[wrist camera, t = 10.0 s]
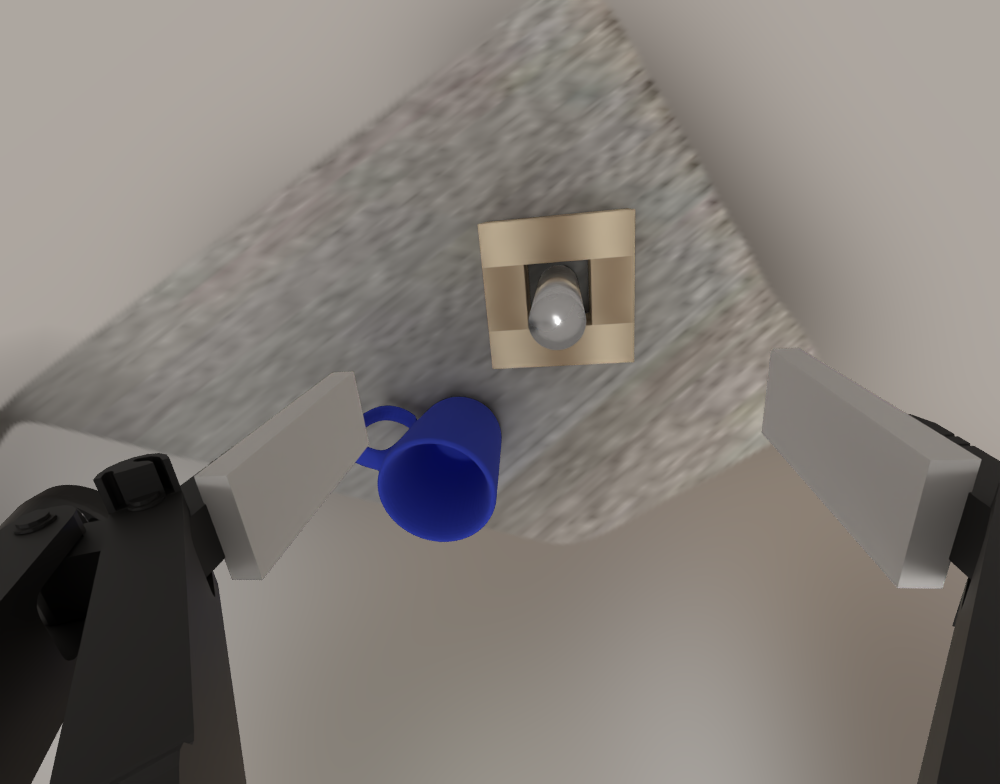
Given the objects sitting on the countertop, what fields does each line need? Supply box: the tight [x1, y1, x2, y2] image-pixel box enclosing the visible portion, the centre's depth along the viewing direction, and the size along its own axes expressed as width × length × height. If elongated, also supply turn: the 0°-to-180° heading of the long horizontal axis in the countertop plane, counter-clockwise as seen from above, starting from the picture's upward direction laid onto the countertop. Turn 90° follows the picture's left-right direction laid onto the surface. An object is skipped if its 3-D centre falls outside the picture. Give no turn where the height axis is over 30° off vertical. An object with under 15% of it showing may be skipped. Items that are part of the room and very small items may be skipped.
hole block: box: [478, 208, 635, 369], centre depth 34 cm, size 10×10×4 cm
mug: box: [355, 397, 501, 542], centre depth 37 cm, size 8×12×10 cm
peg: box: [528, 265, 586, 350], centre depth 31 cm, size 3×3×12 cm
